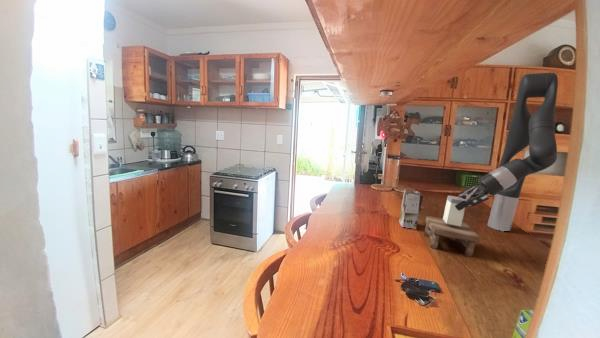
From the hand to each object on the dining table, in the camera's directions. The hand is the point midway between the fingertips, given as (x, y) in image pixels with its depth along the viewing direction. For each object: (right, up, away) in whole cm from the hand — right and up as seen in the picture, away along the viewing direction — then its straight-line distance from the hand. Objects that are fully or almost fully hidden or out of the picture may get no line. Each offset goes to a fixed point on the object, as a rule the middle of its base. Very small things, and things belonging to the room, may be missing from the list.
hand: (454, 206), depth 101 cm
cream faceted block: (0, -7, +1) cm, 7 cm away
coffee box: (-10, -12, +19) cm, 25 cm away
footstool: (-2, -16, +3) cm, 16 cm away
